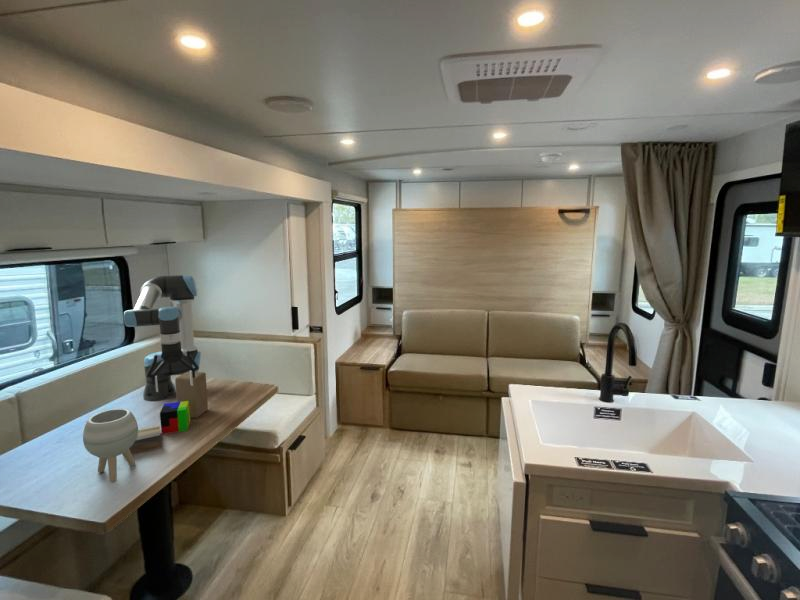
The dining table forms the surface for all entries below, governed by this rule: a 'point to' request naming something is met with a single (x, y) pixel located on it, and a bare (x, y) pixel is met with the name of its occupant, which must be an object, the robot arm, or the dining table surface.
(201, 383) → the wooden block
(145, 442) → the dock
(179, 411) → the puzzle toy
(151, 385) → the robot arm
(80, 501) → the dining table surface
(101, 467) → the planter
